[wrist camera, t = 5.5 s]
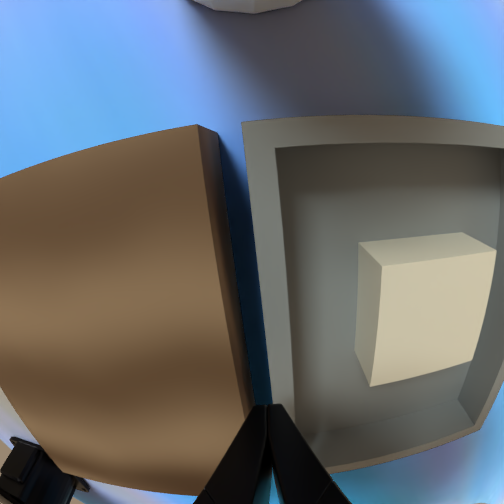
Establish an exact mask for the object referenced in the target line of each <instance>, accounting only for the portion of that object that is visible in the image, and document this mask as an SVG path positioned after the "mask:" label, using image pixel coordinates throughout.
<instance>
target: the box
mask: <svg viewBox="0 0 504 504" xmlns="http://www.w3.org/2000/svg"><path fill="white" fill-rule="evenodd" d="M241 125H242V133H243V142H244V150H245V159H246V168H247V176H248V185H249V194H250V202H251V211H252V220H253V228H254V237H255V246H256V255H257V264H258V273H259V281H260V290H261V299H262V308H263V317H264V326H265V335H266V344H267V353H268V363H269V372H270V381H271V390H272V399H273V404H277V403H281V404H282V405H283V406H284V408H285V409H286V411H287V412H288V414H289V415H290V417H291V419H292V420H293V422H294V423H295V425H296V426H297V428H298V429H299V431H300V432H301V434H302V435H303V437H304V438H305V440H306V441H307V443H308V444H309V446H310V447H311V448H312V450H313V451H314V453H315V454H316V456H317V457H318V459H319V460H320V462H321V463H322V464H323V466H324V467H325V469H326V470H327V472H328V473H329V474H333V473H339V472H344V471H349V470H354V469H359V468H364V467H368V466H373V465H377V464H381V463H385V462H389V461H393V460H396V459H400V458H403V457H407V456H410V455H413V454H417V453H420V452H423V451H426V450H429V449H432V448H435V447H438V446H440V445H443V444H446V443H448V442H451V441H454V440H456V439H459V438H461V437H464V436H466V435H468V434H471V433H473V432H475V431H478V430H480V428H481V426H482V425H483V423H484V421H485V419H486V417H487V415H488V413H489V411H490V409H491V407H492V405H493V403H494V401H495V399H496V397H497V395H498V392H499V390H500V388H501V386H502V383H503V381H504V126H499V125H493V124H486V123H479V122H472V121H463V120H454V119H444V118H432V117H417V116H396V115H327V116H305V117H290V118H277V119H265V120H255V121H246V122H241ZM459 232H463V233H465V234H466V235H468V236H470V237H472V238H474V239H476V240H478V241H480V242H482V243H484V244H486V245H487V246H489V247H491V248H493V249H495V250H497V251H496V259H495V265H494V272H493V277H492V283H491V288H490V293H489V298H488V303H487V307H486V312H485V316H484V320H483V324H482V328H481V331H480V335H479V339H478V342H477V346H476V349H475V352H474V355H473V359H472V360H471V361H468V362H465V363H462V364H459V365H455V366H452V367H449V368H445V369H442V370H438V371H435V372H431V373H428V374H424V375H420V376H416V377H412V378H408V379H404V380H400V381H395V382H391V383H386V384H381V385H377V386H372V387H370V386H369V383H368V381H367V379H366V376H365V374H364V372H363V369H362V367H361V364H360V362H359V360H358V358H357V355H356V353H355V351H354V349H355V335H356V318H357V296H358V243H359V242H369V241H379V240H389V239H399V238H409V237H419V236H429V235H439V234H449V233H459Z"/></svg>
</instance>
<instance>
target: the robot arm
mask: <svg viewBox="0 0 504 504" xmlns="http://www.w3.org/2000/svg"><path fill="white" fill-rule="evenodd" d="M10 441H11V443H12V444H13V445H14V448H13V450H12V452H11V453H10V455H9V456H8V458H7V459H6V461H5V463H4V464H3V466H2V468H1V470H0V472H1V473H2V474H1V476H0V502H1V503H3V504H70V501H71V499H72V497H73V494H74V492H75V489H77V490H81V491H84V492H89V490H90V488H89V487H88V486H87V485H86V484H85V483H84V482H83V480H82V479H81V478H80V477H78V476H75V475H71V474H68V473H64V472H62V471H61V469H60V468H59V467H58V466H57V465H56V464H55V463H54V461H53V460H52V459H51V458H50V457H49V455H48V454H47V453H46V452H45V450H44V449H43V448H42V447H41V446H39V445H35V444H32V443H29V442H27V441H24V440H21V439H18V438H15V437H11V438H10ZM272 467H273V474H274V479H275V484H276V488H277V493H278V498H279V502H280V504H352V503H351V502H350V501H349V500H348V498H347V497H346V496H345V495H344V493H343V492H342V491H341V490H340V488H339V487H338V485H337V484H336V483H335V482H334V481H333V479H332V477H331V476H330V474H329V473H328V472H327V470H326V469H325V467H324V466H323V464H322V463H321V462H320V460H319V459H318V457H317V456H316V454H315V453H314V451H313V450H312V448H311V447H310V446H309V444H308V443H307V441H306V440H305V438H304V437H303V435H302V434H301V432H300V431H299V429H298V428H297V426H296V425H295V423H294V422H293V420H292V419H291V417H290V415H289V414H288V412H287V411H286V409H285V408H284V406H283V405H282V404H281V403H277V404H269V405H268V407H267V405H254V406H253V407H252V408H251V410H250V412H249V414H248V415H247V417H246V419H245V421H244V422H243V424H242V426H241V428H240V429H239V431H238V433H237V434H236V436H235V438H234V440H233V441H232V443H231V445H230V446H229V448H228V450H227V451H226V453H225V455H224V456H223V458H222V460H221V461H220V463H219V464H218V466H217V468H216V469H215V471H214V472H213V474H212V476H211V477H210V479H209V480H208V482H207V484H206V485H205V487H204V489H203V490H202V491H201V493H200V494H199V496H198V497H197V499H196V500H195V502H194V503H193V504H269V498H270V489H271V478H272Z"/></svg>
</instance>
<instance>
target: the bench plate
mask: <svg viewBox="0 0 504 504" xmlns="http://www.w3.org/2000/svg"><path fill="white" fill-rule="evenodd" d="M0 387H1V388H2V390H3V392H4V393H5V395H6V397H7V398H8V400H9V401H10V403H11V405H12V406H13V408H14V409H15V411H16V412H17V414H18V415H19V417H20V418H21V420H22V421H23V422H24V424H25V425H26V427H27V428H28V429H29V431H30V432H31V434H32V435H33V436H34V438H35V439H36V440H37V442H38V443H39V444H40V445H41V447H42V448H43V449H44V450H45V452H46V453H47V454H48V455H49V457H50V458H51V459H52V460H53V461H54V463H55V464H56V465H57V466H58V467H59V468H60V469H61V471H62V472H64V473H68V474H71V475H75V476H78V477H82V478H86V479H90V480H94V481H98V482H102V483H107V484H111V485H116V486H121V487H127V488H132V489H138V490H145V491H152V492H160V493H168V494H178V495H191V496H199V494H200V493H201V491H202V490H203V489H204V487H205V485H206V484H207V482H208V480H209V479H210V477H211V476H212V474H213V472H214V471H215V469H216V468H217V466H218V464H219V463H220V461H221V460H222V458H223V456H224V455H225V453H226V451H227V450H228V448H229V446H230V445H231V443H232V441H233V440H234V438H235V436H236V434H237V433H238V431H239V429H240V428H241V426H242V424H243V422H244V421H245V419H246V417H247V415H248V414H249V412H250V410H251V408H252V407H253V406H254V405H256V404H255V398H254V392H253V385H252V379H251V373H250V366H249V360H248V353H247V347H246V340H245V333H244V327H243V320H242V313H241V306H240V299H239V292H238V285H237V278H236V271H235V264H234V257H233V250H232V242H231V235H230V227H229V220H228V212H227V205H226V197H225V189H224V181H223V173H222V165H221V157H220V149H219V141H218V133H217V132H214V131H212V130H210V129H207V128H205V127H202V126H200V125H198V124H196V125H190V126H184V127H179V128H173V129H168V130H163V131H158V132H153V133H148V134H143V135H139V136H135V137H130V138H126V139H122V140H118V141H114V142H110V143H106V144H102V145H98V146H95V147H91V148H88V149H84V150H81V151H77V152H74V153H71V154H67V155H64V156H61V157H58V158H55V159H52V160H49V161H46V162H43V163H40V164H37V165H34V166H31V167H28V168H26V169H23V170H20V171H18V172H15V173H12V174H10V175H7V176H5V177H2V178H0Z"/></svg>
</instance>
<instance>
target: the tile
mask: <svg viewBox="0 0 504 504" xmlns="http://www.w3.org/2000/svg"><path fill="white" fill-rule="evenodd" d="M496 251H497V250H495V249H493V248H491V247H489V246H487V245H486V244H484V243H482V242H480V241H478V240H476V239H474V238H472V237H470V236H468V235H466V234H465V233H463V232H459V233H449V234H439V235H429V236H419V237H409V238H399V239H389V240H379V241H369V242H359V243H358V296H357V318H356V335H355V349H354V351H355V353H356V355H357V358H358V360H359V362H360V364H361V367H362V369H363V372H364V374H365V376H366V379H367V381H368V383H369V386H370V387H372V386H377V385H381V384H386V383H391V382H395V381H400V380H404V379H408V378H412V377H416V376H420V375H424V374H428V373H431V372H435V371H438V370H442V369H445V368H449V367H452V366H455V365H459V364H462V363H465V362H468V361H471V360H472V359H473V355H474V352H475V349H476V346H477V342H478V339H479V335H480V331H481V328H482V324H483V320H484V316H485V312H486V307H487V303H488V298H489V293H490V288H491V283H492V277H493V272H494V265H495V259H496Z"/></svg>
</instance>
